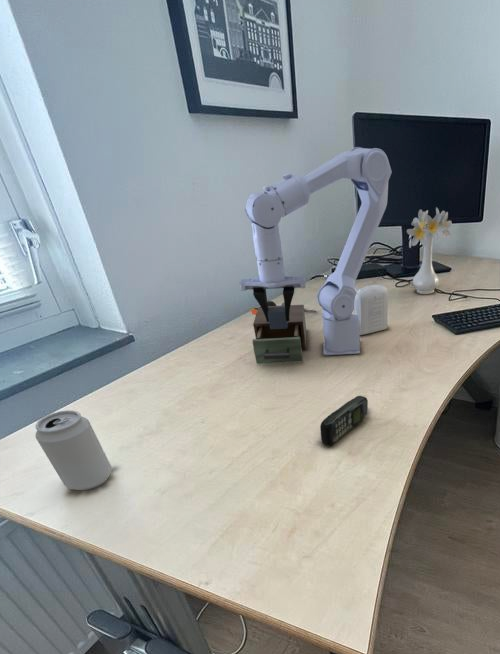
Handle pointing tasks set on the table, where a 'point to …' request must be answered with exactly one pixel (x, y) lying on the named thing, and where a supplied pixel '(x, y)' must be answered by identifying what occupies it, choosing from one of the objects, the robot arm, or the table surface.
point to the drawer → (278, 345)
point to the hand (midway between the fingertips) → (278, 320)
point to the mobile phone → (343, 420)
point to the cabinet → (295, 319)
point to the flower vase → (428, 247)
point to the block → (277, 318)
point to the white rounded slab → (371, 308)
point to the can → (73, 449)
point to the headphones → (270, 303)
